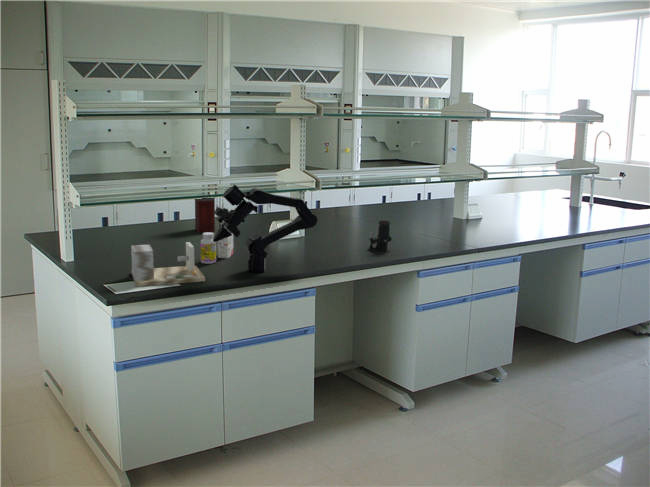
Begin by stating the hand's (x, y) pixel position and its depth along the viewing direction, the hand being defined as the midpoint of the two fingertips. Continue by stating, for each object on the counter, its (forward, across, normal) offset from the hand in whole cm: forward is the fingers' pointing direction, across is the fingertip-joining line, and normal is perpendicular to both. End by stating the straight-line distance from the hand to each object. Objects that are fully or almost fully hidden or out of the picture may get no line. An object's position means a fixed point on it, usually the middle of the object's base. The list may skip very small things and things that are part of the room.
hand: (213, 241), depth 261 cm
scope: (-51, -20, +71) cm, 90 cm away
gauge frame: (+23, 0, -4) cm, 23 cm away
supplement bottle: (+8, -19, +11) cm, 23 cm away
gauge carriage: (+16, +2, 0) cm, 17 cm away
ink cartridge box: (+2, -28, +18) cm, 33 cm away
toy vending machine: (0, -85, +20) cm, 87 cm away
